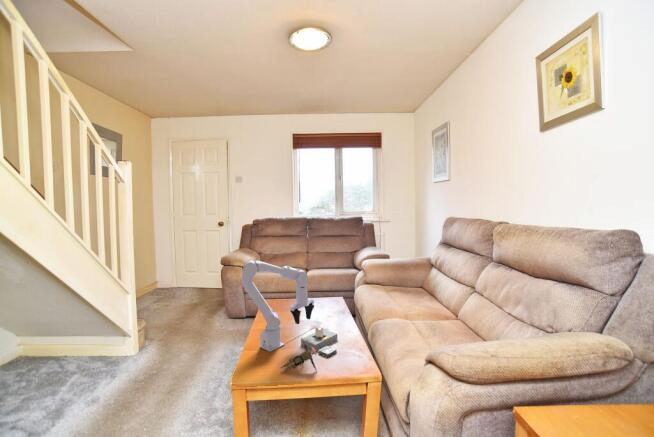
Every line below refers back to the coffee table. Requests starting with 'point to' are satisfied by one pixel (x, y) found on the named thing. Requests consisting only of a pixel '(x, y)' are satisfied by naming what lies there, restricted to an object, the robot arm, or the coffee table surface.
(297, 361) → the samurai figurine
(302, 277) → the robot arm
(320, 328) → the metal peg
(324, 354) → the gray square base plate
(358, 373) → the coffee table surface
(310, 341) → the hole board
